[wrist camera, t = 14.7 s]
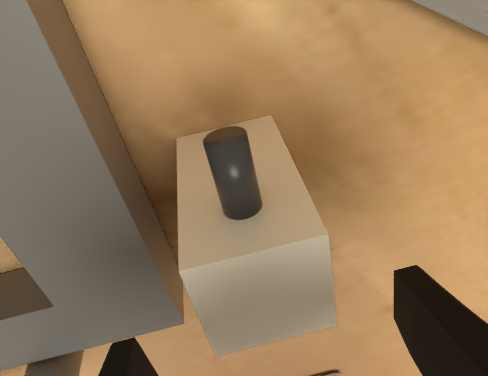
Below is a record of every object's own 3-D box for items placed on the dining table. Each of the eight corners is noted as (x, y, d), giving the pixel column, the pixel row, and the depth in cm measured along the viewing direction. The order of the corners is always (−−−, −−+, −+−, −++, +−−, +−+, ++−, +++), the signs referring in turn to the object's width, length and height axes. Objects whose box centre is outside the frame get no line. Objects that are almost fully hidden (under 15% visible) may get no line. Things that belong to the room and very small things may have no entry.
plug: (261, 57, 15) (320, 156, 9) (284, 191, 19) (337, 325, 13) (158, 83, 15) (147, 199, 9) (201, 212, 19) (215, 356, 13)
